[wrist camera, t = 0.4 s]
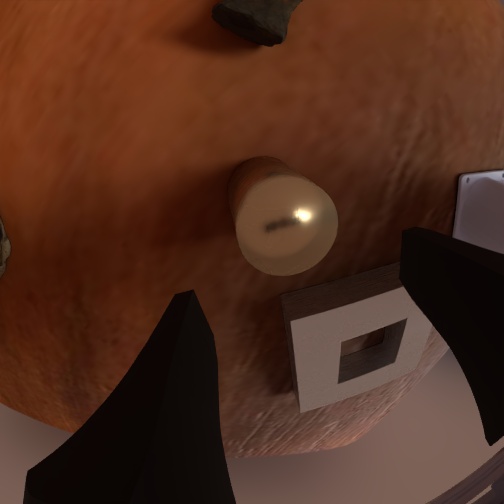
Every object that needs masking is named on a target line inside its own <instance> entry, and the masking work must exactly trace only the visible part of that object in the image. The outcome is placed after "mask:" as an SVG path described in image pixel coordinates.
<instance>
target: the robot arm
mask: <svg viewBox="0 0 504 504" xmlns="http://www.w3.org/2000/svg"><path fill="white" fill-rule="evenodd" d="M399 280H400V281H401V283H402V285H403V286H404V288H405V289H406V291H407V293H408V294H409V296H410V297H411V299H412V300H413V301H414V303H415V304H416V305H417V306H418V308H419V309H420V310H421V311H422V312H423V314H424V315H425V316H426V317H427V319H428V320H429V321H430V322H431V324H432V325H433V326H434V327H435V329H436V330H437V331H438V332H439V334H440V335H441V336H442V337H443V339H444V340H445V341H446V343H447V344H448V346H449V347H450V349H451V350H452V352H453V354H454V355H455V357H456V359H457V361H458V362H459V364H460V366H461V368H462V370H463V372H464V374H465V376H466V379H467V381H468V383H469V385H470V387H471V390H472V393H473V395H474V398H475V401H476V403H477V406H478V409H479V413H480V416H481V420H482V424H483V428H484V433H485V438H486V440H487V442H488V444H489V446H492V445H493V444H494V443H496V442H497V441H498V440H499V439H500V438H502V437H503V436H504V170H494V171H485V172H476V173H468V174H462V175H461V176H460V177H459V184H458V196H457V206H456V214H455V222H454V228H453V235H452V237H450V236H447V235H444V234H441V233H438V232H435V231H431V230H428V229H423V228H419V227H413V228H410V229H407V230H404V231H402V247H401V260H400V272H399ZM491 484H492V485H491ZM489 485H491V488H492V489H491V490H490V491H489V492H487V493H486V494H485V495H483V496H482V497H481V498H479V499H478V500H476V501H475V502H473V503H472V504H504V447H503V448H502V449H501V450H500V451H499V452H497V453H496V454H495V455H494V456H493V457H492V458H491V459H489V460H488V461H487V462H486V463H485V464H483V465H482V466H481V467H480V468H478V469H477V470H476V471H474V472H473V473H472V474H470V475H469V476H468V477H466V478H465V479H464V480H462V481H461V482H459V483H458V484H457V485H455V486H454V487H452V488H451V489H449V490H448V491H446V492H445V493H443V494H441V495H440V496H438V497H436V498H435V499H433V500H431V501H430V502H428V503H426V504H466V503H467V502H468V501H470V500H471V499H473V498H474V497H476V496H477V495H478V494H479V493H481V492H482V491H483V490H484V489H486V488H487V487H488V486H489ZM23 504H236V501H235V498H234V494H233V490H232V486H231V482H230V478H229V473H228V468H227V464H226V459H225V454H224V448H223V443H222V437H221V429H220V417H219V391H218V362H217V355H216V348H215V342H214V335H213V333H212V330H211V328H210V326H209V324H208V322H207V319H206V317H205V315H204V313H203V310H202V308H201V306H200V304H199V301H198V299H197V297H196V294H195V292H194V290H190V291H186V292H182V293H178V294H175V296H174V297H173V299H172V300H171V302H170V304H169V305H168V307H167V309H166V311H165V312H164V314H163V316H162V318H161V319H160V321H159V323H158V324H157V326H156V328H155V329H154V331H153V333H152V335H151V336H150V338H149V340H148V341H147V343H146V344H145V346H144V347H143V349H142V350H141V352H140V354H139V355H138V357H137V358H136V360H135V361H134V363H133V364H132V366H131V367H130V369H129V370H128V372H127V373H126V375H125V376H124V377H123V379H122V380H121V381H120V383H119V384H118V385H117V387H116V388H115V389H114V390H113V392H112V393H111V394H110V396H109V397H108V398H107V399H106V400H105V401H104V403H103V404H102V405H101V406H100V407H99V408H98V409H97V410H96V411H95V413H94V414H93V415H92V416H91V417H90V418H89V419H88V420H87V421H86V423H85V424H84V425H83V426H82V427H81V428H80V429H79V430H78V431H76V432H75V433H74V434H73V435H72V436H71V437H70V438H69V439H68V440H67V441H66V442H65V443H64V444H62V445H61V446H60V447H59V448H58V449H56V450H55V451H54V452H53V453H52V454H50V455H49V456H48V457H46V458H45V459H44V460H42V461H41V462H39V463H38V464H37V465H35V466H34V467H33V468H31V469H30V470H28V472H27V476H26V483H25V491H24V499H23Z"/></svg>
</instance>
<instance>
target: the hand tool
mask: <svg viewBox="0 0 504 504" xmlns="http://www.w3.org/2000/svg"><path fill="white" fill-rule="evenodd" d="M302 1H303V0H225V1H222V2H219V3H218V4H217V5H215V6H214V7H213V10H212V13H213V15H212V18H213V20H214V21H216V22H218V23H219V24H220V25H221V26H222V27H224V28H226V29H228V30H230V31H232V32H234V33H235V34H237V35H238V36H240V37H242V38H244V39H247V40H249V41H251V42H254V43H257V44H260V45H264V46H268V47H272V46H273V45H275V44H281V43H282V42H284V41H285V39H286V36H287V25H288V23H289V19H290V16H291V12H292V11H294V10H295V8H296V7H297V6H298V4H299V3H300V2H302Z"/></svg>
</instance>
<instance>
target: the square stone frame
mask: <svg viewBox="0 0 504 504" xmlns="http://www.w3.org/2000/svg"><path fill="white" fill-rule="evenodd" d="M399 272H400V261H399V262H396V263H393V264H389V265H386V266H383V267H379V268H376V269H373V270H369V271H366V272H362V273H359V274H356V275H352V276H349V277H345V278H341V279H338V280H334V281H331V282H327V283H323V284H320V285H316V286H312V287H308V288H304V289H301V290H297V291H293V292H289V293H285V294H281V295H280V297H281V303H282V310H283V317H284V324H285V331H286V338H287V345H288V352H289V359H290V366H291V374H292V381H293V389H294V393H295V396H296V400H297V403H298V406H299V409H300V413H302V412H305V411H309V410H312V409H316V408H319V407H322V406H325V405H329V404H332V403H335V402H338V401H341V400H344V399H346V398H349V397H352V396H355V395H357V394H360V393H363V392H365V391H368V390H370V389H373V388H375V387H378V386H380V385H382V384H385V383H387V382H389V381H392V380H394V379H396V378H398V377H401V376H403V375H405V374H407V373H409V372H411V371H413V370H415V369H416V367H417V365H418V362H419V360H420V357H421V355H422V352H423V350H424V347H425V344H426V342H427V339H428V336H429V333H430V330H431V328H432V324H431V322H430V321H429V320H428V319H427V317H426V316H425V315H424V314H423V312H422V311H421V310H420V309H419V308H418V306H417V305H416V304H415V303H414V301H413V300H412V299H411V297H410V296H409V294H408V293H407V291H406V289H405V288H404V286H403V285H402V283H401V281H400V280H399ZM385 326H386V328H385V333H384V337H383V342H382V343H380V344H377V345H375V346H372V347H369V348H367V349H364V350H361V351H358V352H355V353H353V354H350V355H347V356H344V357H341V358H340V352H341V342H343V341H346V340H349V339H352V338H355V337H358V336H361V335H363V334H366V333H369V332H372V331H374V330H377V329H380V328H383V327H385Z"/></svg>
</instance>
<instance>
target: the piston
mask: <svg viewBox="0 0 504 504" xmlns="http://www.w3.org/2000/svg"><path fill="white" fill-rule="evenodd" d="M227 196H228V201H229V206H230V210H231V214H232V218H233V223H234V227H235V231H236V235H237V239H238V243H239V247H240V250H241V252H242V254H243V255H244V257H245V258H246V260H247V261H248V262H249V263H250V264H251V265H252V266H253V267H255V268H256V269H258V270H260V271H262V272H264V273H267V274H270V275H276V276H288V275H294V274H298V273H301V272H303V271H306V270H308V269H310V268H311V267H313V266H314V265H316V264H317V263H318V262H319V261H321V260H322V259H323V258H324V257H325V255H326V254H327V253H328V252H329V250H330V249H331V247H332V245H333V243H334V241H335V238H336V235H337V230H338V215H337V211H336V208H335V205H334V203H333V201H332V200H331V198H330V197H329V196H328V194H327V193H326V192H325V191H323V190H322V189H321V188H320V187H318V186H317V185H316V184H314V183H313V182H312V181H310V180H309V179H307V178H306V177H305V176H303V175H302V174H300V173H299V172H297V171H296V170H295V169H293V168H292V167H290V166H289V165H287V164H286V163H284V162H283V161H281V160H279V159H277V158H273V157H268V156H260V157H255V158H252V159H249V160H247V161H245V162H244V163H242V164H241V165H240V166H239V167H238V168H237V169H236V170H235V171H234V172H233V174H232V176H231V178H230V180H229V183H228V188H227Z"/></svg>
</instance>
